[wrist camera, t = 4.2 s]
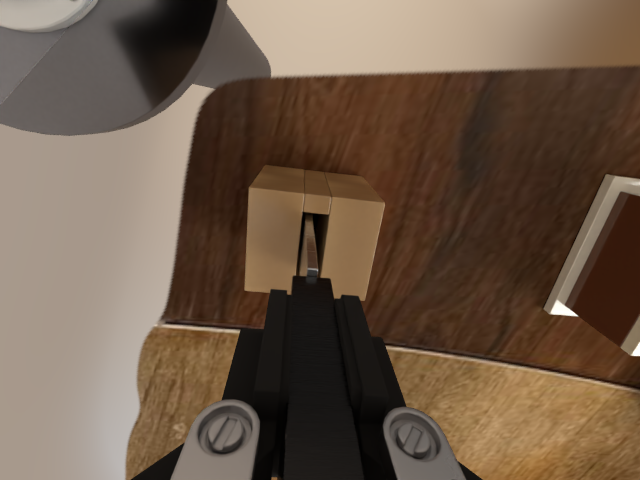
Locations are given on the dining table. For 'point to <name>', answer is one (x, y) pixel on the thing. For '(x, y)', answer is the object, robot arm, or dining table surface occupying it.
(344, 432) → the knife
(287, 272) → the knife block
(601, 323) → the brown and cream block
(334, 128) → the dining table surface
